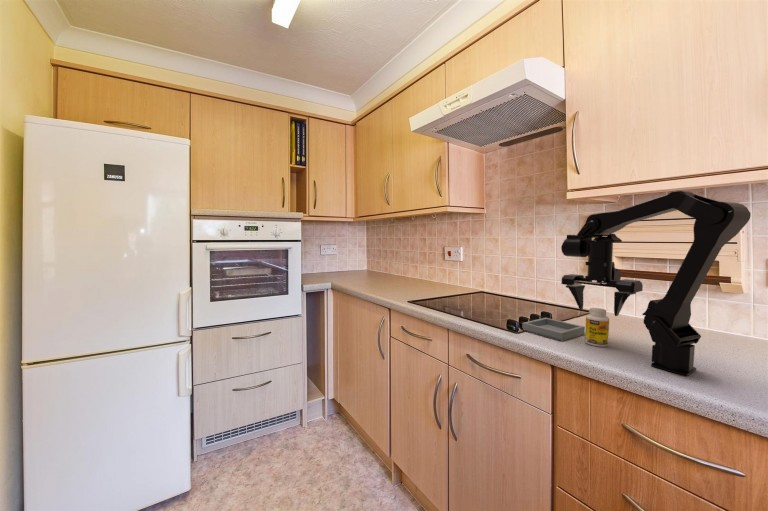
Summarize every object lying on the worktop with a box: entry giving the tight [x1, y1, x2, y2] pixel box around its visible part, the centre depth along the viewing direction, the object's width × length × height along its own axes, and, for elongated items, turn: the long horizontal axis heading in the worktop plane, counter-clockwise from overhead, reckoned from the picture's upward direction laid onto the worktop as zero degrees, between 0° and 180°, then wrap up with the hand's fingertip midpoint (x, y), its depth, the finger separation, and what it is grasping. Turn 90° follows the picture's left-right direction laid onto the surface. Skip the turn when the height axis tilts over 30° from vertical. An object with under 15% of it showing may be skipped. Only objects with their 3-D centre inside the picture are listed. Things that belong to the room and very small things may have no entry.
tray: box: [521, 317, 586, 342], centre depth 102 cm, size 13×13×2 cm
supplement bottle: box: [584, 307, 610, 348], centre depth 91 cm, size 6×6×10 cm
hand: (598, 312), depth 91 cm, fingers open, 9 cm apart
